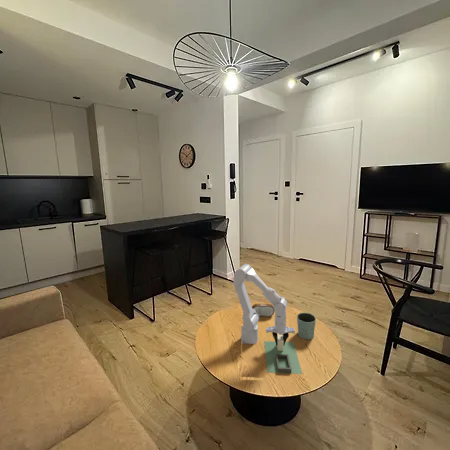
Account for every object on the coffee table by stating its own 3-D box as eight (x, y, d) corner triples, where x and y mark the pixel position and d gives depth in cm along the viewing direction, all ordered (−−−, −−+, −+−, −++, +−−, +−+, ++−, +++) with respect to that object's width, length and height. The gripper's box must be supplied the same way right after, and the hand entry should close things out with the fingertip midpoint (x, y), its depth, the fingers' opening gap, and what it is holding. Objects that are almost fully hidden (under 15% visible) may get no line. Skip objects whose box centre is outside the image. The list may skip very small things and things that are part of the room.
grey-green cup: (318, 335, 141) (319, 316, 138) (309, 344, 134) (310, 324, 131) (301, 328, 148) (302, 310, 145) (293, 336, 141) (293, 317, 139)
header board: (267, 374, 115) (267, 368, 114) (264, 342, 136) (264, 338, 136) (302, 375, 113) (302, 370, 113) (293, 343, 135) (293, 338, 134)
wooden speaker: (274, 314, 164) (274, 302, 162) (274, 317, 161) (274, 305, 159) (251, 314, 164) (251, 303, 163) (251, 317, 161) (251, 305, 160)
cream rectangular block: (277, 350, 128) (277, 340, 127) (276, 343, 133) (276, 333, 132) (283, 350, 128) (283, 340, 127) (282, 343, 133) (282, 334, 132)
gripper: (266, 325, 124) (266, 349, 127) (296, 326, 123) (295, 350, 125) (265, 317, 131) (265, 340, 134) (293, 318, 130) (292, 341, 132)
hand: (280, 344), depth 130 cm, fingers closed on cream rectangular block, 3 cm apart
